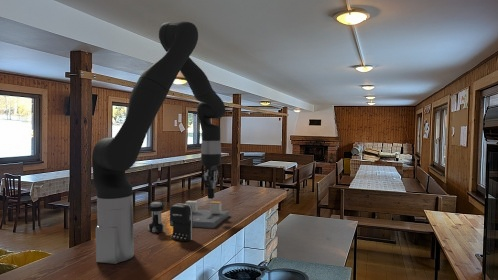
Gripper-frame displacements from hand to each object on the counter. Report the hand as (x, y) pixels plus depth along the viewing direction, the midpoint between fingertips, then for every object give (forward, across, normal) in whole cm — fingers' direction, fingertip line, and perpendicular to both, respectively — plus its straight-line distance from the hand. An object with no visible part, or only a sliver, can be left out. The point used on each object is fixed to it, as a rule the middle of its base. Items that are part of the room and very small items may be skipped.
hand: (211, 198), depth 135 cm
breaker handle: (+6, +4, 0) cm, 7 cm away
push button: (+10, -16, +15) cm, 24 cm away
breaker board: (+9, +1, +4) cm, 10 cm away
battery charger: (+10, -23, +2) cm, 25 cm away
